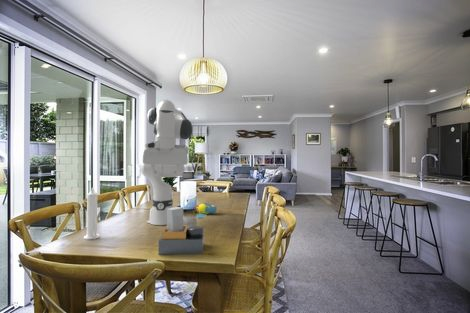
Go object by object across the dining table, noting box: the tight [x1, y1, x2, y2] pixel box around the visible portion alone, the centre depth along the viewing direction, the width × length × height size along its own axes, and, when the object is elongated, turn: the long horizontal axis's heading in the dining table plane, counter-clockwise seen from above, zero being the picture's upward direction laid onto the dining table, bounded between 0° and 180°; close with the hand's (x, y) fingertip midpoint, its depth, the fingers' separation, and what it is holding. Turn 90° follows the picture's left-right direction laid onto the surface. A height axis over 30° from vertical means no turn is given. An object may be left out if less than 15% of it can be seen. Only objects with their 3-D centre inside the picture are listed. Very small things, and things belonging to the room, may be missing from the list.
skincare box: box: [166, 206, 184, 231], centre depth 112 cm, size 6×4×12 cm
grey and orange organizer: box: [158, 225, 205, 256], centre depth 112 cm, size 12×18×9 cm, turn 95°
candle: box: [83, 187, 101, 241], centre depth 127 cm, size 7×7×25 cm
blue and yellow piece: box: [194, 202, 217, 219], centre depth 183 cm, size 28×9×15 cm
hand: (165, 174), depth 119 cm, fingers open, 8 cm apart
